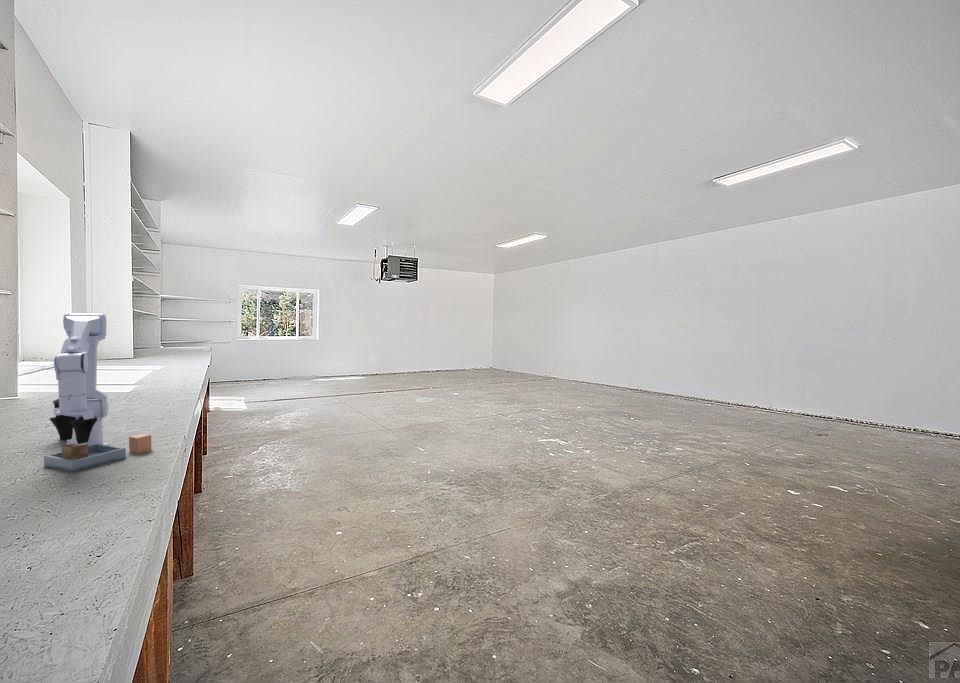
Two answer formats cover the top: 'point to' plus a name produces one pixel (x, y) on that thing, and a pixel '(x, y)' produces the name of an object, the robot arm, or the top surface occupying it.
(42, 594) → the top surface
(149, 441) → the terracotta block
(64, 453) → the tan block
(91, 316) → the robot arm
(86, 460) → the tray
